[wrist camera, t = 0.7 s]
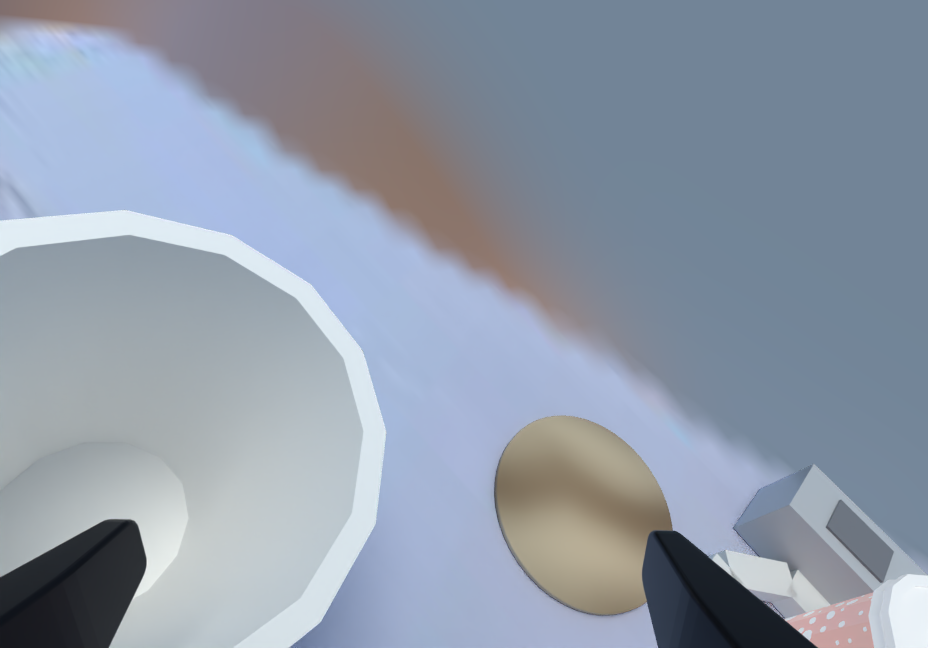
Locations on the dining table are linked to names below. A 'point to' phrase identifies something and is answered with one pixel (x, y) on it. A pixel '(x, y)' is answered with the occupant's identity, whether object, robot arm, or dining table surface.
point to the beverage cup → (872, 618)
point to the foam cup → (184, 423)
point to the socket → (811, 546)
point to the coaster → (579, 512)
